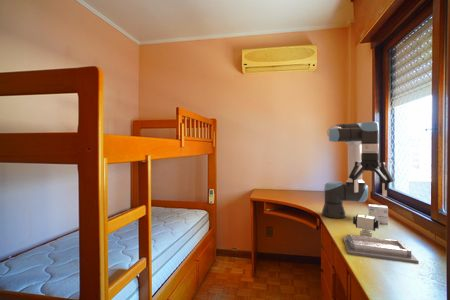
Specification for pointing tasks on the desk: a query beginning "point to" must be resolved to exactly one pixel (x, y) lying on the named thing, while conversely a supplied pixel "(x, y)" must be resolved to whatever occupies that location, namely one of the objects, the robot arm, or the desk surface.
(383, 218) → the light bulb box
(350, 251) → the mounting board
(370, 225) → the pneumatic valve
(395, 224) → the desk surface
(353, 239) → the shallow rectangular tray
